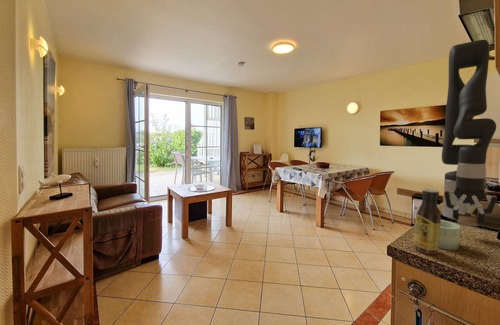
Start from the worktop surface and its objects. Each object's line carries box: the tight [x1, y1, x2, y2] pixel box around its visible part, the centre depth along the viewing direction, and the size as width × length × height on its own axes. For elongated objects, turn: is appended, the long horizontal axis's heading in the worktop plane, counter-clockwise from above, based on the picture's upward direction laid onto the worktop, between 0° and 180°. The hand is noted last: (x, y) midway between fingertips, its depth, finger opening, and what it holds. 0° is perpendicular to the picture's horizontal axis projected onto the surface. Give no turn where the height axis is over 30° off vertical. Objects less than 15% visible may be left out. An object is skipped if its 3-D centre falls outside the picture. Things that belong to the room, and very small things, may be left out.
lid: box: [456, 212, 479, 227], centre depth 84 cm, size 6×6×4 cm
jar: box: [438, 219, 461, 251], centre depth 78 cm, size 9×9×7 cm
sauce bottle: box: [413, 188, 442, 255], centre depth 73 cm, size 7×6×20 cm
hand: (467, 221), depth 84 cm, fingers closed on lid, 5 cm apart
